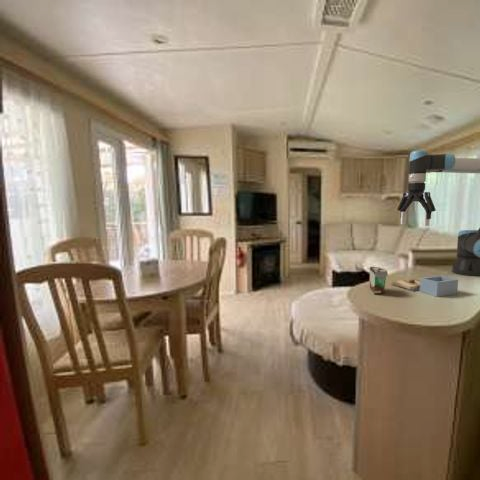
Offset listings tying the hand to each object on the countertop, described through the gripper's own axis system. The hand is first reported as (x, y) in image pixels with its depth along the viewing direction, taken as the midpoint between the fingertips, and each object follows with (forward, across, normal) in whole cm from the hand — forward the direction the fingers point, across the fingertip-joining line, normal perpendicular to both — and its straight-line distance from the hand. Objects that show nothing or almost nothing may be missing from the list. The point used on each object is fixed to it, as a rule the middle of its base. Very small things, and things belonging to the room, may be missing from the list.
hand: (414, 225), depth 160 cm
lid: (+26, +14, -16) cm, 34 cm away
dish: (+27, +26, -14) cm, 39 cm away
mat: (+27, +14, -16) cm, 34 cm away
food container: (+27, +15, -36) cm, 47 cm away
